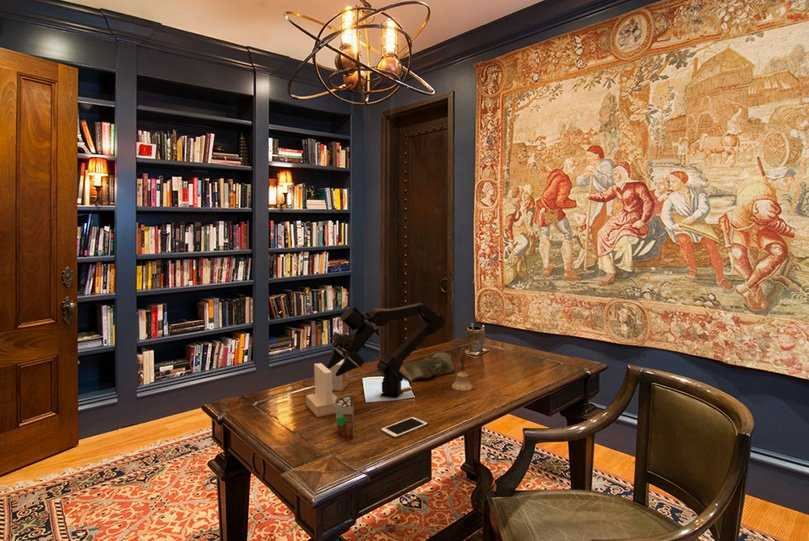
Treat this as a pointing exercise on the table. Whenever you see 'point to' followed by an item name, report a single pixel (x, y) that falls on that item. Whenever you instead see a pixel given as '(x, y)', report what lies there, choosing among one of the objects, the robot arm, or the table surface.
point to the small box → (339, 378)
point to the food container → (345, 415)
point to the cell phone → (403, 427)
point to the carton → (320, 409)
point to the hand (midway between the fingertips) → (331, 372)
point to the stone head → (428, 367)
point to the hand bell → (462, 375)
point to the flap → (322, 387)
